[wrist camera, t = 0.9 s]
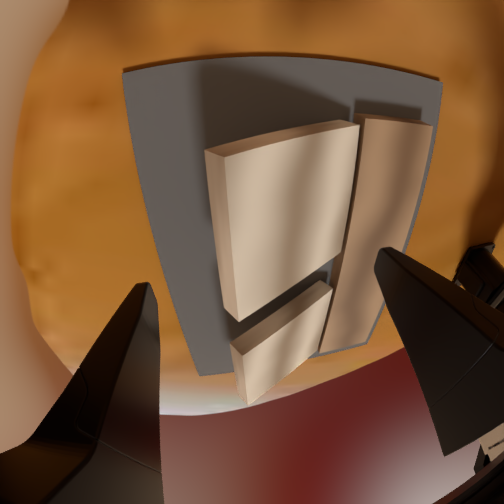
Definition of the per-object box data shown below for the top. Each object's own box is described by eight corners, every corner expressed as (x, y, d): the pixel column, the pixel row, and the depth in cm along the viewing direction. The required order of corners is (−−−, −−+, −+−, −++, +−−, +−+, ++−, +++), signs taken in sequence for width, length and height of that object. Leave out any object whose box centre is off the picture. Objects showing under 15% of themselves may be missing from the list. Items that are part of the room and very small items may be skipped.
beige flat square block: (320, 279, 25) (332, 288, 24) (307, 342, 32) (317, 350, 31) (229, 342, 20) (242, 356, 19) (238, 395, 27) (247, 405, 26)
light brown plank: (420, 120, 17) (432, 126, 16) (360, 332, 33) (365, 341, 31) (353, 113, 16) (365, 118, 15) (315, 343, 32) (319, 353, 31)
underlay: (439, 81, 15) (442, 82, 15) (365, 341, 35) (366, 344, 35) (123, 73, 13) (121, 73, 13) (199, 373, 33) (199, 376, 32)
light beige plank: (340, 119, 17) (359, 124, 16) (326, 243, 23) (340, 252, 22) (204, 149, 12) (224, 157, 11) (223, 307, 18) (238, 322, 17)
